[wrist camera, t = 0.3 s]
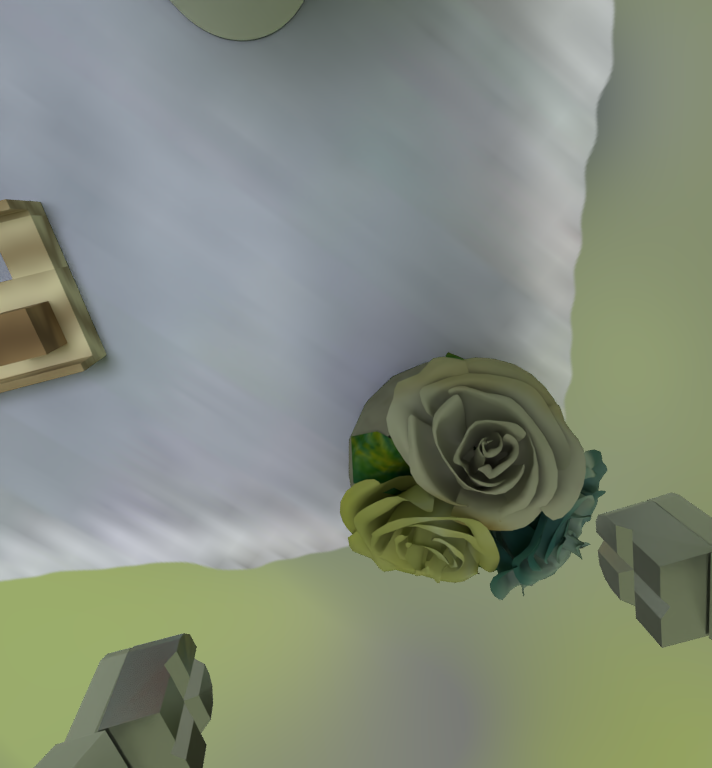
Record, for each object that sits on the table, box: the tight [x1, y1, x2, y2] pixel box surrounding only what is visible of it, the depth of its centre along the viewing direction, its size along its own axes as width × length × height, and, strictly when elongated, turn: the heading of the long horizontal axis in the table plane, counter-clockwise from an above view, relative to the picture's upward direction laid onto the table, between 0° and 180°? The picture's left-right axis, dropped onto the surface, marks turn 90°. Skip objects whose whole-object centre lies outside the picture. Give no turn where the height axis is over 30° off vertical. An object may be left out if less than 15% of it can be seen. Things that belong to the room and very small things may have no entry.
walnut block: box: [0, 301, 67, 366], centre depth 46 cm, size 4×4×4 cm
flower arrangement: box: [340, 352, 607, 600], centre depth 48 cm, size 25×25×24 cm
